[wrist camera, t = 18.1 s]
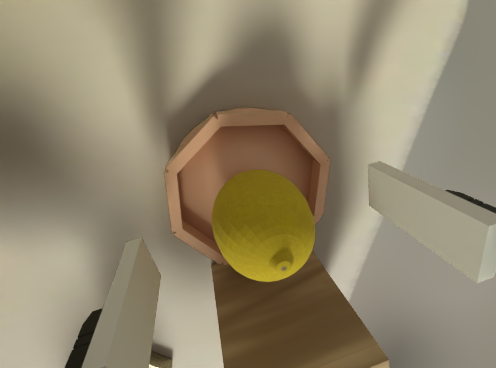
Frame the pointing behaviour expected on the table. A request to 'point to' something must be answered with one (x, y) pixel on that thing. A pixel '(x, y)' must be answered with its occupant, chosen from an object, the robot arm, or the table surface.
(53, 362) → the table surface
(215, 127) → the saucer
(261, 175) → the lemon
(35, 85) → the table surface
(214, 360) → the table surface
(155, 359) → the balance
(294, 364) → the oak cover
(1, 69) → the table surface
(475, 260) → the robot arm
